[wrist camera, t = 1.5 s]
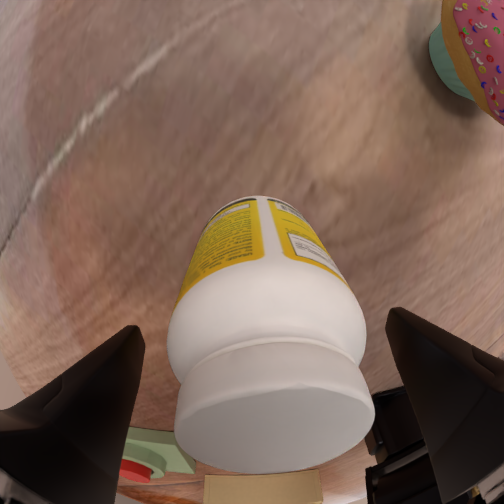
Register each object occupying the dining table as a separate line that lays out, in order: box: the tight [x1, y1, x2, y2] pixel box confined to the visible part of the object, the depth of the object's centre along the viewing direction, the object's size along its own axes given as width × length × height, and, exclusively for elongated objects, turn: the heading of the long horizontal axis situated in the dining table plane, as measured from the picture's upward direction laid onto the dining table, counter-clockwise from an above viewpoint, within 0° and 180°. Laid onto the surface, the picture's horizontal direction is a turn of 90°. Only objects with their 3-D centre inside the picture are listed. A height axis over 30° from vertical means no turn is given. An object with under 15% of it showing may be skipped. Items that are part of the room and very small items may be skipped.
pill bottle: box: [167, 196, 375, 474], centre depth 10 cm, size 6×6×11 cm
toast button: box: [119, 459, 152, 483], centre depth 22 cm, size 4×4×2 cm
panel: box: [122, 427, 196, 478], centre depth 24 cm, size 12×9×4 cm
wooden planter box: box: [203, 469, 323, 504], centre depth 28 cm, size 16×10×6 cm, turn 93°
